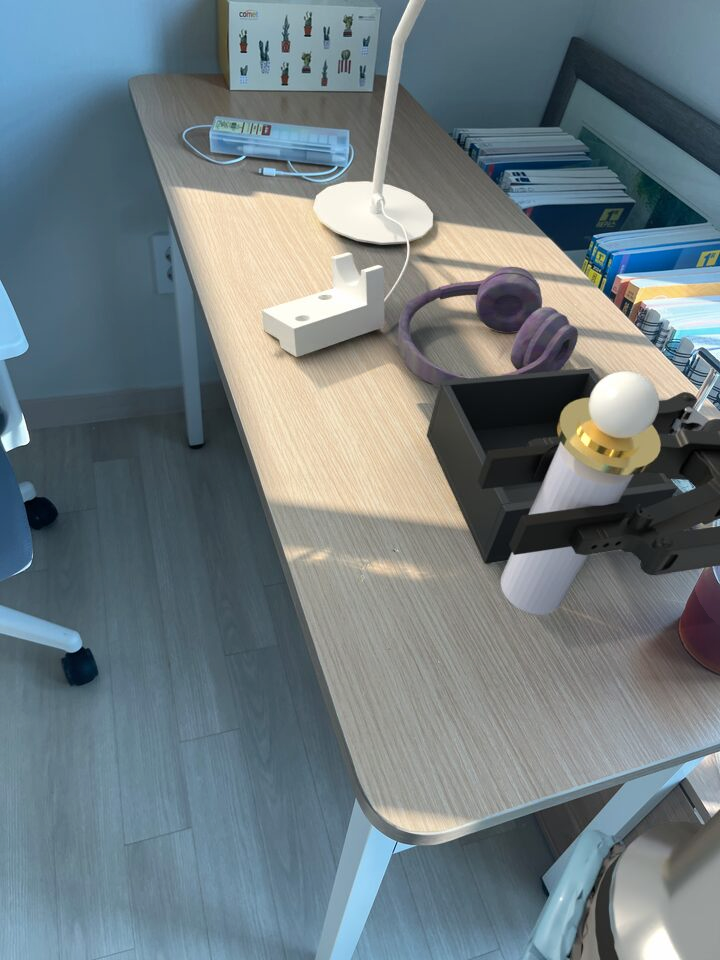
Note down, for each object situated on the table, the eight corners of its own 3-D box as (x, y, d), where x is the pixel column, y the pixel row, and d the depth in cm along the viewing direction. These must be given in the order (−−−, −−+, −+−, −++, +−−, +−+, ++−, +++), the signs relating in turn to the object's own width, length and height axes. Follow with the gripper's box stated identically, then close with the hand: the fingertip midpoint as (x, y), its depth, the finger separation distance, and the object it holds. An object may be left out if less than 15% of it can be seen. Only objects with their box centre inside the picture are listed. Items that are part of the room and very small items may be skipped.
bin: (644, 539, 76) (677, 488, 70) (484, 564, 71) (506, 511, 66) (569, 420, 87) (592, 367, 81) (426, 435, 83) (440, 380, 77)
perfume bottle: (583, 617, 54) (713, 406, 39) (512, 636, 52) (621, 423, 37) (543, 554, 57) (649, 339, 43) (476, 570, 55) (562, 351, 41)
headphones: (517, 298, 102) (378, 332, 98) (526, 244, 96) (377, 278, 92) (586, 385, 91) (431, 427, 87) (601, 331, 84) (435, 374, 81)
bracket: (350, 309, 98) (348, 252, 94) (384, 326, 94) (383, 266, 89) (264, 337, 92) (257, 277, 88) (296, 357, 87) (290, 294, 83)
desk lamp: (301, 183, 118) (327, -199, 85) (410, 183, 123) (475, -180, 90) (356, 327, 94) (422, -126, 61) (490, 321, 99) (617, -104, 66)
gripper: (868, 600, 48) (542, 663, 42) (715, 415, 59) (440, 443, 53) (949, 526, 43) (588, 586, 37) (764, 337, 54) (463, 359, 48)
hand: (501, 501), depth 45 cm, fingers closed on perfume bottle, 4 cm apart
